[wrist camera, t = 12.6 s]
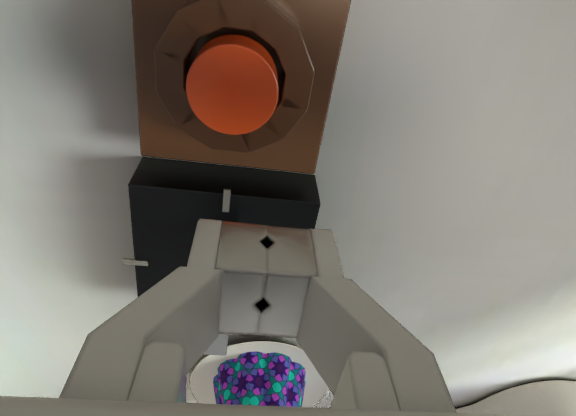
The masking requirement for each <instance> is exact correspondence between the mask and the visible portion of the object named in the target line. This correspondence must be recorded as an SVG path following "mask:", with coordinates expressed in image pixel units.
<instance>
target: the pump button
mask: <svg viewBox="0 0 576 416" xmlns="http://www.w3.org/2000/svg"><path fill="white" fill-rule="evenodd" d="M186 94H187V99H188V102H189V105H190V107H191V109H192V110H193V112H194V114H195V115H196V116H197V117H198V118H199V120H201V121H202V122H203V123H204V124H205V125H206V126H208V127H210V128H211V129H213V130H215V131H218V132H220V133H224V134H229V135H240V134H246V133H249V132H252V131H254V130H256V129H258V128H260V127H261V126H263V125H264V124H265V123H266V122H267V121H268V120H269V119H270V117H271V116H272V114H273V113H274V111H275V108H276V106H277V102H278V96H279V88H278V75H277V69H276V66H275V63H274V61H273V59H272V57H271V55H270V54H269V52H268V51H267V50H266V49H265V48H264V47H263V46H262V45H261V44H260V43H258V42H257V41H255V40H253V39H251V38H249V37H246V36H243V35H238V34H226V35H221V36H218V37H216V38H214V39H212V40H210V41H209V42H207V43H206V44H205V45H204V46H203V47H202V48H201V49H200V51H199V52H198V54H197V55H196V57H195V59H194V61H193V63H192V65H191V67H190V69H189V71H188V74H187V79H186Z"/></svg>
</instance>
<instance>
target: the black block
mask: <svg viewBox="0 0 576 416" xmlns="http://www.w3.org/2000/svg"><path fill="white" fill-rule="evenodd" d="M128 187H129V199H130V211H131V222H132V234H133V246H134V258H135V259H128V258H123V264H125V265H135V269H136V281H137V293H138V297H139V296H140V295H142V294H143V293H145V292H146V291H147V290H149V289H150V288H151V287H153V286H154V285H155V284H157V283H158V282H159V281H161V280H162V279H163V278H165V277H166V276H168V275H169V274H170V273H172V272H173V271H174V270H176V269H177V268H178V267H180V266H181V267H187V264H188V260H189V255H190V251H191V247H192V243H193V239H194V235H195V231H196V226H197V222H198V221H199V219H211V220H221V221H222V222H223V221H231V222H240V223H250V224H259V225H267V226H276V227H288V228H301V229H315V225H316V220H317V216H318V212H319V208H320V199H319V194H318V189H317V184H316V178H315V176H314V175H306V174H296V173H287V172H278V171H268V170H259V169H250V168H240V167H231V166H222V165H212V164H203V163H194V162H184V161H175V160H165V159H156V158H147V157H143V158H142V159H141V161H140V163H139V165H138V167H137V169H136V171H135V173H134V175H133V177H132V178H131V180H130V182H129V184H128Z"/></svg>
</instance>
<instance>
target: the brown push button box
mask: <svg viewBox="0 0 576 416" xmlns="http://www.w3.org/2000/svg"><path fill="white" fill-rule="evenodd" d="M131 1H132V17H133V33H134V49H135V65H136V82H137V98H138V114H139V130H140V147H141V155H142V156H150V157H160V158H169V159H178V160H188V161H197V162H206V163H215V164H225V165H234V166H243V167H253V168H262V169H271V170H281V171H290V172H299V173H309V174H314V173H315V168H316V164H317V159H318V154H319V149H320V145H321V140H322V135H323V131H324V126H325V121H326V116H327V112H328V107H329V102H330V98H331V93H332V88H333V83H334V79H335V74H336V69H337V65H338V60H339V55H340V50H341V46H342V41H343V36H344V32H345V27H346V22H347V17H348V13H349V8H350V3H351V0H131ZM226 34H238V35H243V36H246V37H249V38H251V39H253V40H255V41H257V42H258V43H260V44H261V45H262V46H263V47H264V48H265V49H266V50H267V51H268V52H269V54H270V55H271V57H272V59H273V61H274V63H275V66H276V69H277V75H278V88H279V96H278V102H277V106H276V108H275V111H274V113H273V114H272V116H271V117H270V119H269V120H268V121H267V122H266V123H265V124H264V125H263V126H261V127H260V128H258V129H256V130H254V131H252V132H249V133H246V134H240V135H229V134H224V133H220V132H218V131H215V130H213V129H211V128H210V127H208V126H206V125H205V124H204V123H203V122H202V121H201V120H199V118H198V117H197V116H196V115H195V114H194V112H193V110H192V109H191V107H190V105H189V102H188V99H187V94H186V79H187V74H188V71H189V69H190V67H191V65H192V63H193V61H194V59H195V57H196V55H197V54H198V52H199V51H200V49H201V48H202V47H203V46H204V45H205V44H206V43H207V42H209V41H210V40H212V39H214V38H216V37H218V36H221V35H226Z"/></svg>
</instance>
